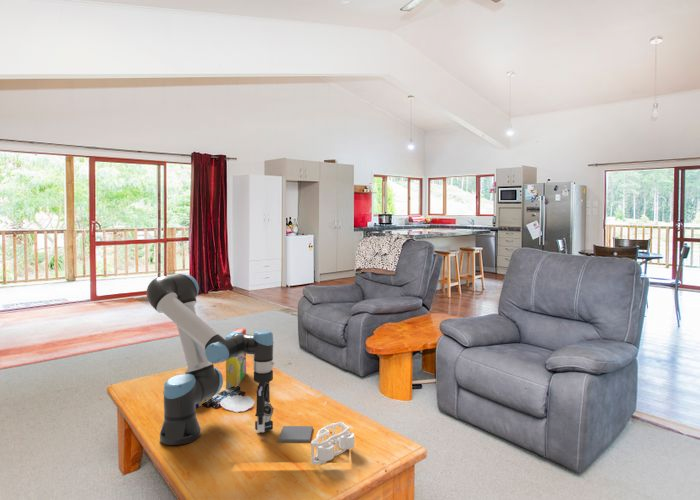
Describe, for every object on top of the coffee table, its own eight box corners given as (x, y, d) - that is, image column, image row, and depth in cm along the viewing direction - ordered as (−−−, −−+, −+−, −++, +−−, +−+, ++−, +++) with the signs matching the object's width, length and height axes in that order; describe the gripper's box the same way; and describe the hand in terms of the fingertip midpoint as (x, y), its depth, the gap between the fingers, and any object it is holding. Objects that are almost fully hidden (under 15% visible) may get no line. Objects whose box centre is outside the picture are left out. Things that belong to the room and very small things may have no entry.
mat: (278, 441, 174) (278, 439, 174) (283, 428, 186) (283, 426, 186) (309, 442, 174) (309, 439, 174) (312, 428, 186) (312, 426, 186)
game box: (236, 390, 231) (236, 337, 230) (225, 390, 231) (225, 337, 230) (246, 377, 252) (246, 328, 251) (236, 377, 252) (235, 328, 251)
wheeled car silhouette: (322, 469, 155) (322, 447, 154) (300, 458, 162) (299, 438, 162) (360, 448, 170) (360, 428, 169) (338, 439, 177) (338, 420, 177)
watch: (262, 434, 178) (262, 406, 177) (253, 427, 184) (253, 400, 184) (275, 430, 181) (275, 403, 181) (265, 423, 188) (265, 397, 187)
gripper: (267, 378, 171) (267, 439, 172) (277, 363, 192) (277, 416, 193) (247, 378, 171) (247, 438, 172) (259, 362, 192) (259, 416, 193)
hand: (263, 427), depth 183 cm, fingers closed on watch, 8 cm apart
